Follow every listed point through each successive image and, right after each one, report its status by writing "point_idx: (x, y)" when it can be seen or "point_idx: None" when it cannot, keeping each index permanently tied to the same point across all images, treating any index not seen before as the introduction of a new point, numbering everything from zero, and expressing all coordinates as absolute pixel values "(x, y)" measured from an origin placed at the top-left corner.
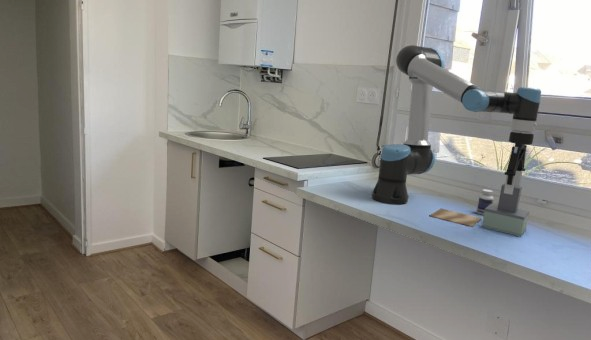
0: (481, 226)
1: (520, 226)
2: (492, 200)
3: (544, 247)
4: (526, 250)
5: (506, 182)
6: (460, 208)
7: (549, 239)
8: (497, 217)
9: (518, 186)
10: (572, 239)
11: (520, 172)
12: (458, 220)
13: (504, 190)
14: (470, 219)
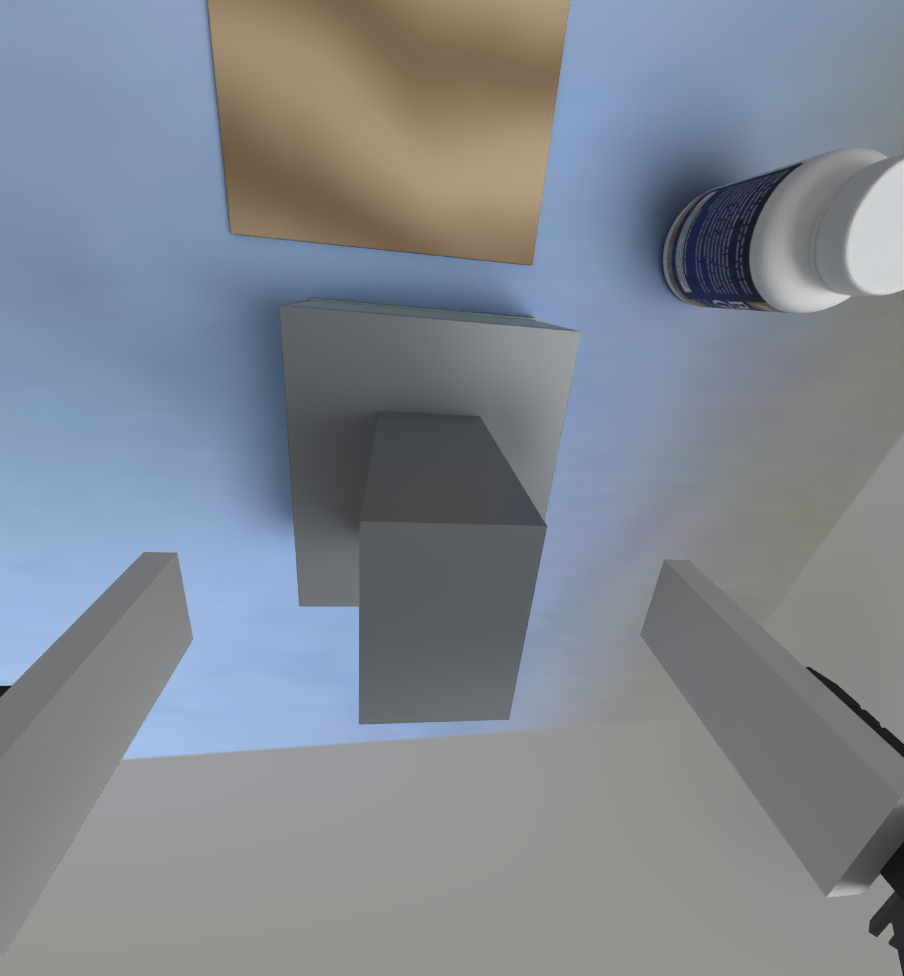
0: (312, 298)
1: None
2: (772, 308)
3: (238, 635)
4: (86, 583)
5: (29, 691)
6: (771, 9)
7: None
8: None
9: (494, 691)
10: None
11: (817, 854)
12: (284, 79)
13: (121, 579)
14: (415, 182)
